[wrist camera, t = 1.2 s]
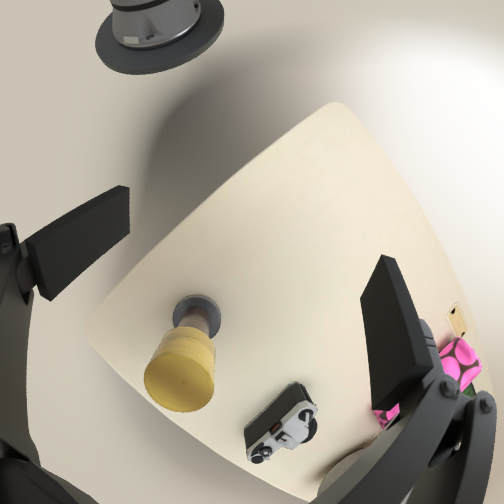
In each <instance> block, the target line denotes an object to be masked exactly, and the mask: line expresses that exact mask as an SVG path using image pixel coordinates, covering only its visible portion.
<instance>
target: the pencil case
mask: <svg viewBox="0 0 504 504" xmlns="http://www.w3.org/2000/svg"><path fill="white" fill-rule="evenodd" d="M439 355H440V359H441V362H442V365H443V369H444V372H445V374H449V375H450V376H452V377H453V378H454V379H455V380H456V381H457V382H458V384H459V386H460V389H461V392H462V391H463V390H464V389H465V388H466V387H467V386H468V385H469V384H470V383H471V381H472V380H473V379H474V378H475V377H476V376H477V375H478V374H479V373H480V371H481V368H482V364H481V361H480V359H479V357H477V355H476V353H475V351H474V350H473V349H472V348H471V347H470V346H469V345H468V344H467V343H466V342H465V341H464V340H463V339H462V338H461V337H455V338H454V339H453V341H452V342H451V343H450V344H448V345H447V346H446V347H445V348H444V349H443V350H442V351H441V352H440V353H439ZM397 413H399V404H397V405H396V406H395V407H394V408H392V409H391V410H390V411H379V410H375V411H374V414H375V415H376V416H377V419H378V421H379V423H380V425H381V427H382V428H383V430H384V428H385V426H384V424H385V423H387V422H388V421H389V420H390V419H391V418H393V417H394V416H395V415H396V414H397Z"/></svg>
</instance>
